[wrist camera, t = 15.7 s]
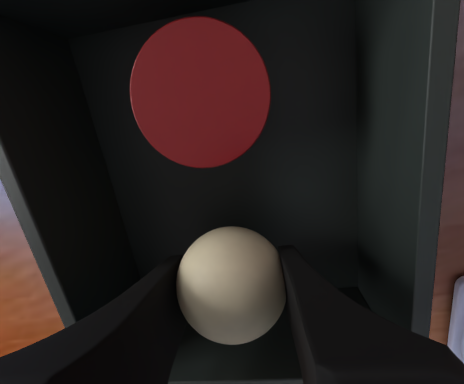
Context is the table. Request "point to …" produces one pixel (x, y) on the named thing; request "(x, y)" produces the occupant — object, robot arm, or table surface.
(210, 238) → the beige ball
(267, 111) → the red cylinder
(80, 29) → the bin
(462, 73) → the table surface
